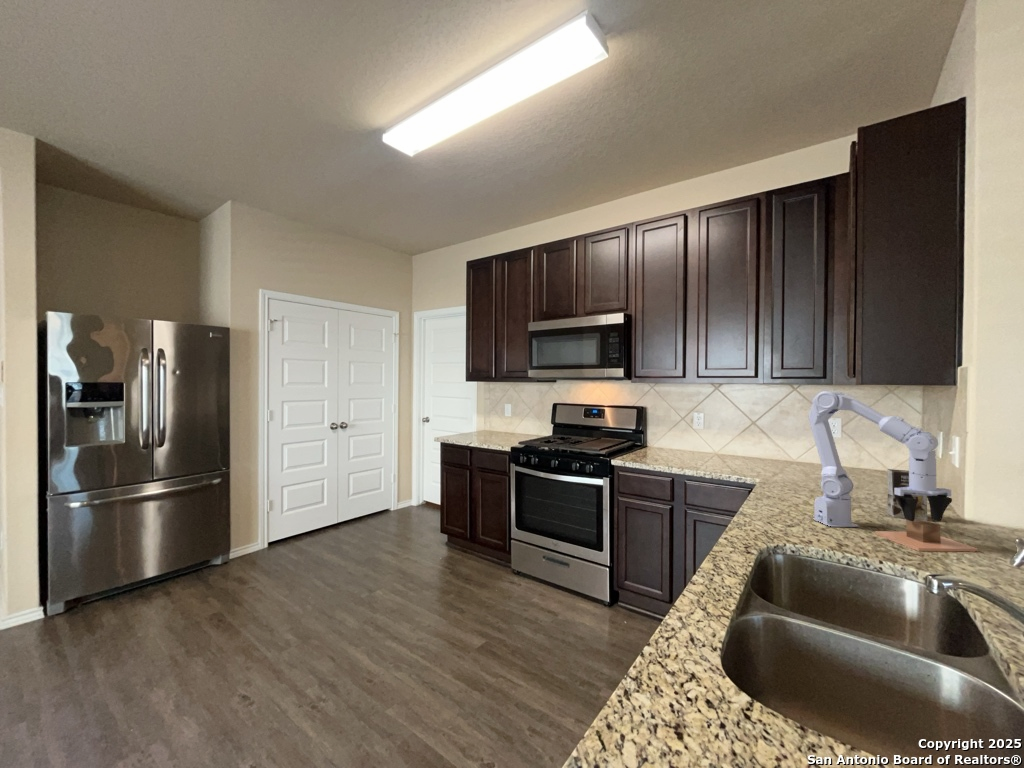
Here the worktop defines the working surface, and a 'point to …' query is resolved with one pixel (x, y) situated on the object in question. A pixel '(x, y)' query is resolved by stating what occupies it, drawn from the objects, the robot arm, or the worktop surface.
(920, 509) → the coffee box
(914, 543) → the terracotta tile
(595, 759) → the worktop surface
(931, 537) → the walnut cube
